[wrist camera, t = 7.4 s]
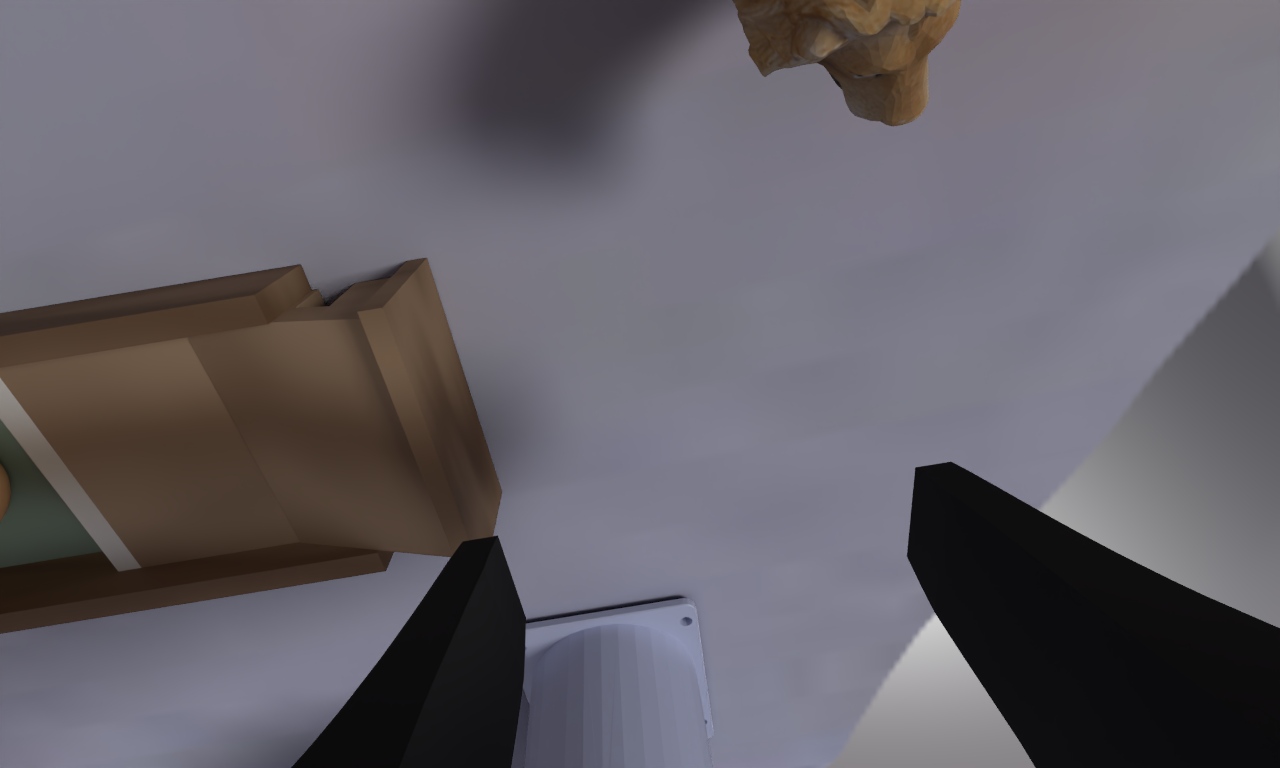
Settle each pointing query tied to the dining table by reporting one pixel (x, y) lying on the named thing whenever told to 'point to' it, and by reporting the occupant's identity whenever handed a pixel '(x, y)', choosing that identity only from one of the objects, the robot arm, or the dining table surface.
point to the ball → (4, 492)
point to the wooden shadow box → (231, 442)
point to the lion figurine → (854, 47)
